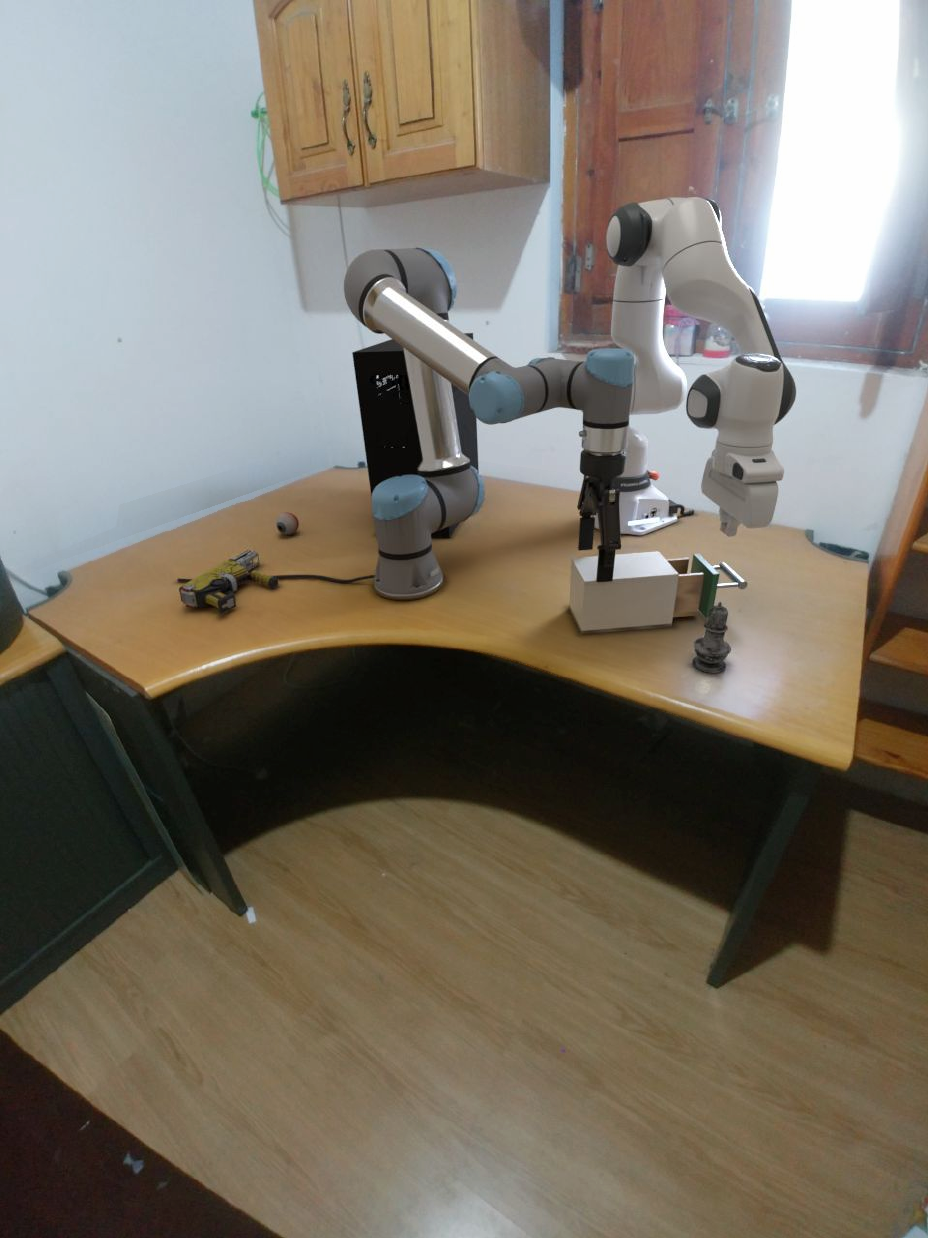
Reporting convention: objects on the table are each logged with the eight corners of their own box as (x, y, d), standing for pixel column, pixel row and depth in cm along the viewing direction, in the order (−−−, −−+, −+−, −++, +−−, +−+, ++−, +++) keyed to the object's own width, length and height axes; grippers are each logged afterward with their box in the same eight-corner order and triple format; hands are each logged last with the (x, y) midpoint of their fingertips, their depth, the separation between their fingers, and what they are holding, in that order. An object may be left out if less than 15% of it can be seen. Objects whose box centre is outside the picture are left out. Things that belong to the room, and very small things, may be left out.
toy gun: (299, 558, 143) (245, 547, 147) (233, 601, 123) (173, 587, 126) (300, 576, 145) (248, 565, 149) (236, 621, 125) (177, 606, 129)
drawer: (720, 593, 122) (728, 551, 117) (742, 615, 114) (751, 571, 110) (614, 601, 121) (617, 559, 117) (628, 624, 113) (632, 580, 109)
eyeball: (273, 537, 164) (268, 516, 161) (287, 528, 169) (282, 508, 166) (291, 539, 161) (286, 518, 158) (305, 530, 166) (301, 510, 163)
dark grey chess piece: (730, 675, 99) (743, 611, 93) (692, 672, 100) (703, 609, 94) (724, 655, 104) (736, 594, 98) (688, 653, 105) (698, 592, 99)
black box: (449, 537, 157) (436, 349, 134) (376, 534, 161) (352, 352, 139) (479, 491, 188) (473, 332, 166) (417, 489, 193) (403, 335, 170)
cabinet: (652, 601, 123) (658, 551, 117) (671, 627, 114) (679, 574, 108) (569, 608, 122) (571, 557, 116) (581, 634, 113) (584, 581, 107)
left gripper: (565, 432, 112) (560, 539, 122) (601, 473, 90) (591, 597, 101) (605, 430, 112) (596, 536, 123) (650, 470, 90) (635, 594, 101)
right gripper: (698, 444, 112) (688, 515, 119) (751, 476, 95) (736, 557, 102) (731, 442, 113) (719, 512, 119) (790, 473, 95) (772, 554, 102)
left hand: (594, 564), depth 112 cm, fingers open, 13 cm apart
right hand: (727, 533), depth 110 cm, fingers closed
